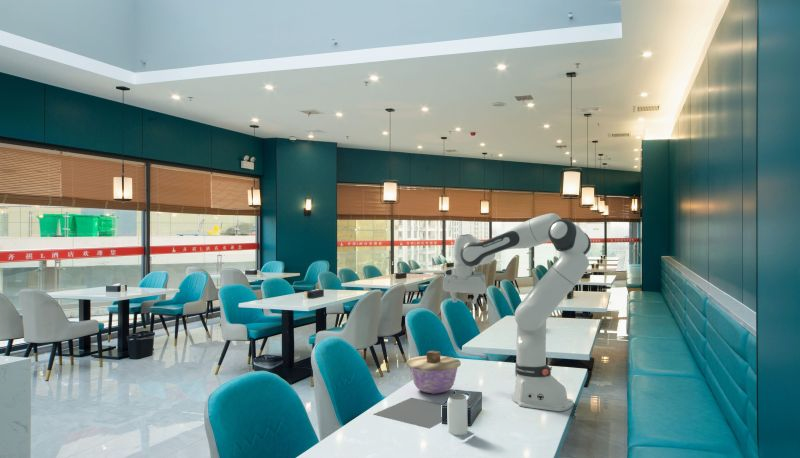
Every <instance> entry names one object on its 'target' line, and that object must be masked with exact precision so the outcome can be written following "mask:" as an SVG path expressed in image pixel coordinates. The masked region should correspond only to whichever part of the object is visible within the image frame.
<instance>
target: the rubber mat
mask: <svg viewBox="0 0 800 458" xmlns="http://www.w3.org/2000/svg"><path fill="white" fill-rule="evenodd" d="M442 404H443V403H439V402H434V401H430V400H426V399H425V400H424V399H420V398H416V397H410V398H408V399H407V398H406V399H404V400H403V401H401V402H398V403H396V404H393V405H392V406H389V407H386V408H384V409H382V410H379V411H377V412H375V413H372V414H373V416H377V417H381V418H386V419H389V420H392V421H398V422H402V423H405V424H409V425H414V426H417V427H422V428H427V429H431V428H433V427H435V426H437V425H439V424H440V423H442V422H443V421H442V417H441V405H442Z"/></svg>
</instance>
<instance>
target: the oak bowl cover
mask: <svg viewBox="0 0 800 458" xmlns="http://www.w3.org/2000/svg"><path fill="white" fill-rule="evenodd" d="M406 365H407V367H409V368H410V367H411V368H414V369H419V370H429V371H440V370H450V369H454V368H457V367H458V368H459V367H460V366H461V365H462V363H461V360H460V359H458V358H455V357H451V356H447V355H446V356H444V355H441V351H436V350H429V351H427V352H426V355H422V356H414V357H411V358H408V360H406ZM458 368H457V369H458Z"/></svg>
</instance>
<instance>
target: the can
mask: <svg viewBox="0 0 800 458" xmlns="http://www.w3.org/2000/svg"><path fill="white" fill-rule="evenodd" d="M446 405H447V419H446V420H447V422H446V423H447V424H446V425H447V433H448V434H449V435H453V436H463V435H464V436H465V435H467V434H468V400H467V396H466V395H465V394H462V393H451V394H449V395H448V399H447V402H446Z"/></svg>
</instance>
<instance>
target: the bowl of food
mask: <svg viewBox="0 0 800 458" xmlns="http://www.w3.org/2000/svg"><path fill="white" fill-rule="evenodd" d="M458 368H459V367H457V368H454V369H450V370H440V371H429V370H419V369H414V368H411V367H409V369H410V372H411V377H412V381H413V384H414V386H415V387H416V389H417V390H419V391H421V392H423V393H427V394H441V393H442V394H443V393H445V392H448V391H449V390H451V389H452V387H453V386H454V385H455V382H456V381H455V380H456V376H457V372H458Z"/></svg>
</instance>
